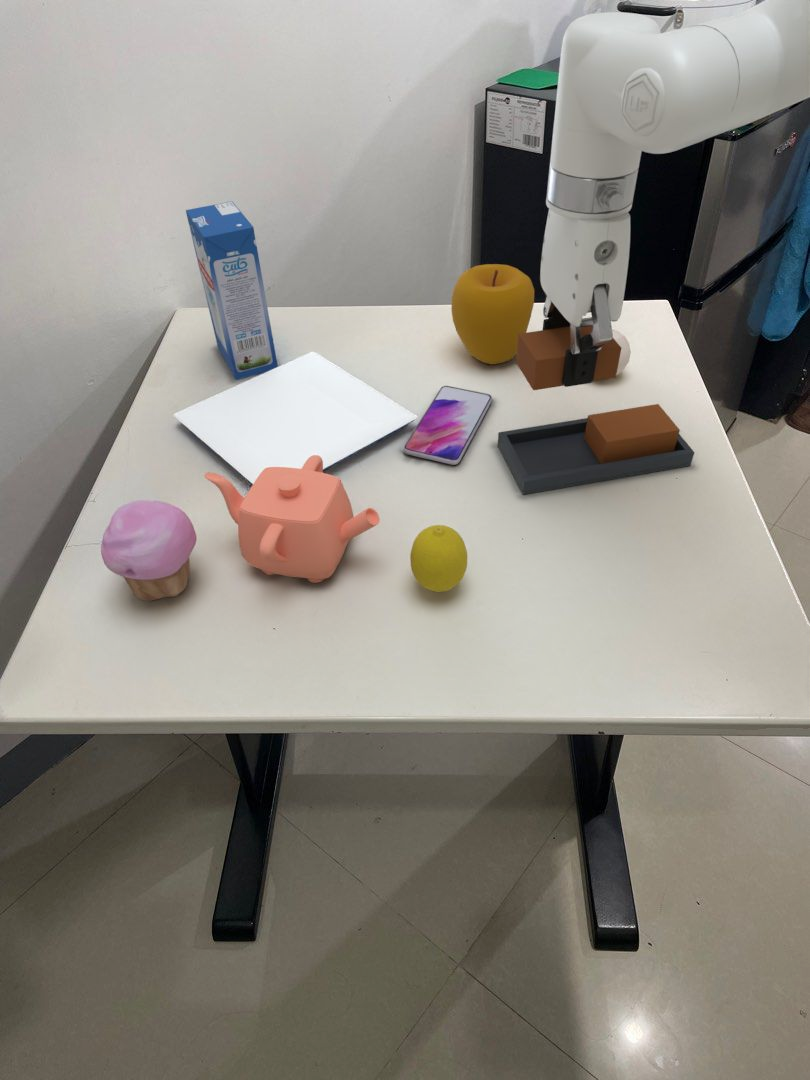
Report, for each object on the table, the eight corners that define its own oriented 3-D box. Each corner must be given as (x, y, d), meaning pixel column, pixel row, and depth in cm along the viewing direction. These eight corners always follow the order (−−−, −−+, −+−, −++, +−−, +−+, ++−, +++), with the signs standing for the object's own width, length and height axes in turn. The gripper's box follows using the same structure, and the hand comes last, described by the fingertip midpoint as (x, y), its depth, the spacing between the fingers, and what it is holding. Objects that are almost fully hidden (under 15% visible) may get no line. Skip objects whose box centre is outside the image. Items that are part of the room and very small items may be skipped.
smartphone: (494, 394, 96) (457, 462, 87) (493, 400, 97) (457, 467, 87) (442, 384, 98) (400, 448, 88) (441, 389, 99) (400, 454, 89)
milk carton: (217, 347, 109) (185, 209, 95) (258, 337, 111) (231, 200, 97) (236, 380, 103) (203, 236, 89) (278, 369, 104) (253, 226, 90)
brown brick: (515, 363, 79) (518, 333, 76) (594, 351, 80) (599, 321, 77) (533, 390, 75) (536, 360, 72) (615, 377, 76) (621, 347, 74)
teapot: (345, 501, 84) (336, 428, 76) (386, 569, 76) (380, 495, 69) (223, 540, 80) (201, 467, 73) (253, 616, 72) (232, 543, 65)
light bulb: (541, 332, 100) (616, 334, 93) (566, 322, 104) (639, 323, 97) (543, 380, 102) (616, 386, 95) (567, 369, 107) (639, 373, 100)
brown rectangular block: (583, 438, 90) (587, 414, 87) (652, 427, 91) (658, 403, 88) (602, 466, 86) (606, 442, 83) (673, 453, 87) (680, 429, 84)
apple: (437, 362, 104) (436, 275, 95) (476, 330, 110) (479, 245, 101) (505, 385, 99) (511, 295, 90) (542, 350, 106) (551, 262, 97)
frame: (497, 445, 90) (498, 432, 89) (653, 419, 93) (656, 406, 91) (522, 495, 83) (524, 481, 82) (690, 466, 86) (694, 452, 85)
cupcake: (137, 554, 79) (108, 482, 72) (217, 554, 78) (195, 482, 71) (111, 619, 72) (76, 547, 65) (198, 619, 72) (172, 547, 65)
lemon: (472, 573, 75) (475, 516, 69) (457, 613, 71) (459, 556, 66) (421, 562, 76) (419, 504, 71) (403, 600, 73) (400, 543, 67)
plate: (272, 510, 83) (269, 496, 81) (175, 426, 95) (171, 412, 94) (419, 429, 93) (418, 415, 92) (314, 362, 105) (313, 349, 104)
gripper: (677, 218, 59) (634, 407, 72) (592, 152, 71) (568, 324, 84) (589, 229, 58) (561, 419, 71) (518, 160, 70) (505, 333, 83)
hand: (565, 366), depth 77 cm, fingers closed on brown brick, 5 cm apart
